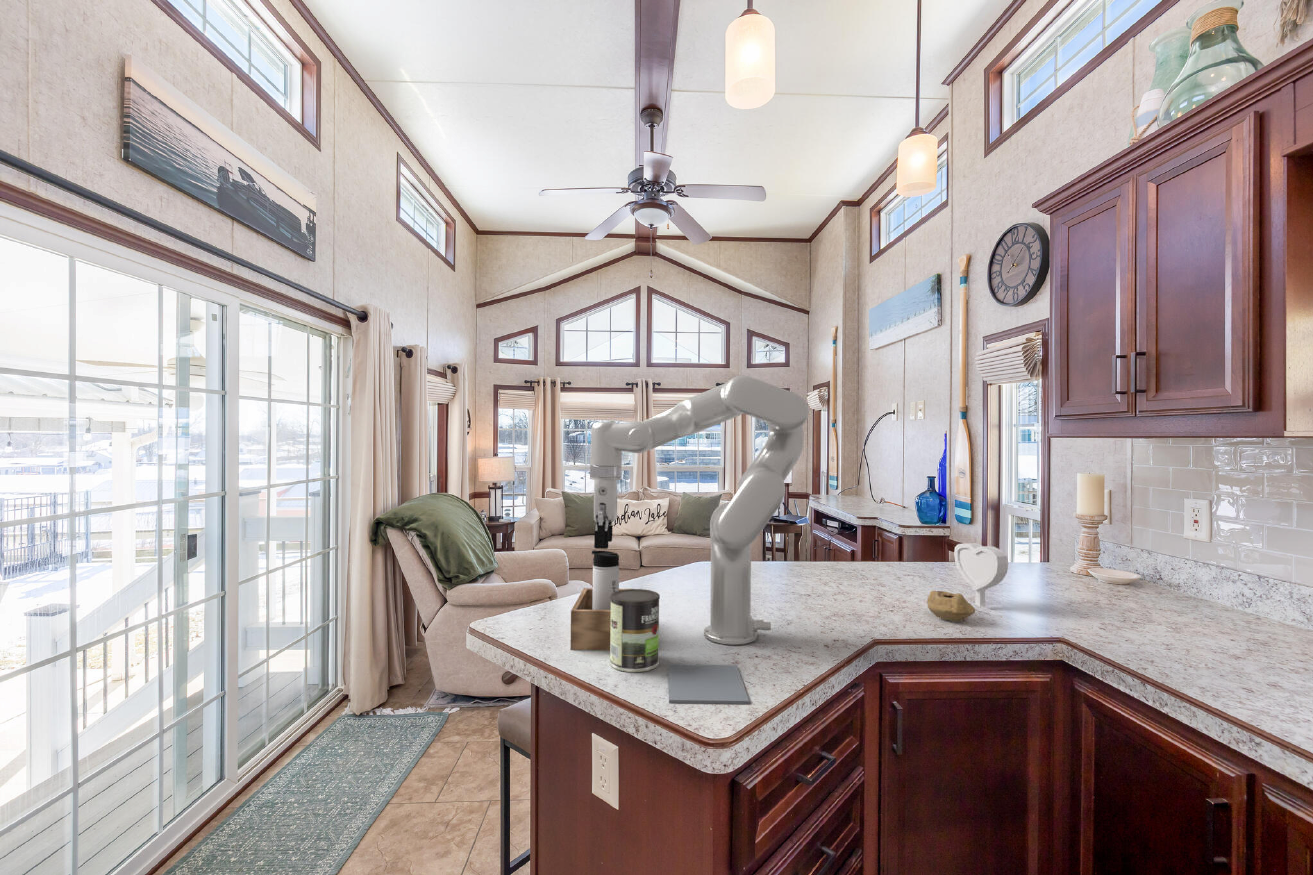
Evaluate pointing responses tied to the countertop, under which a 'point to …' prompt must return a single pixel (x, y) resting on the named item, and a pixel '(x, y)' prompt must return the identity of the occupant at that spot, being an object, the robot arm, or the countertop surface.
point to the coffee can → (634, 630)
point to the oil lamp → (949, 606)
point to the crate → (589, 624)
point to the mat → (706, 684)
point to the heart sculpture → (980, 567)
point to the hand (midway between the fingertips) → (603, 544)
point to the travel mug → (604, 578)
